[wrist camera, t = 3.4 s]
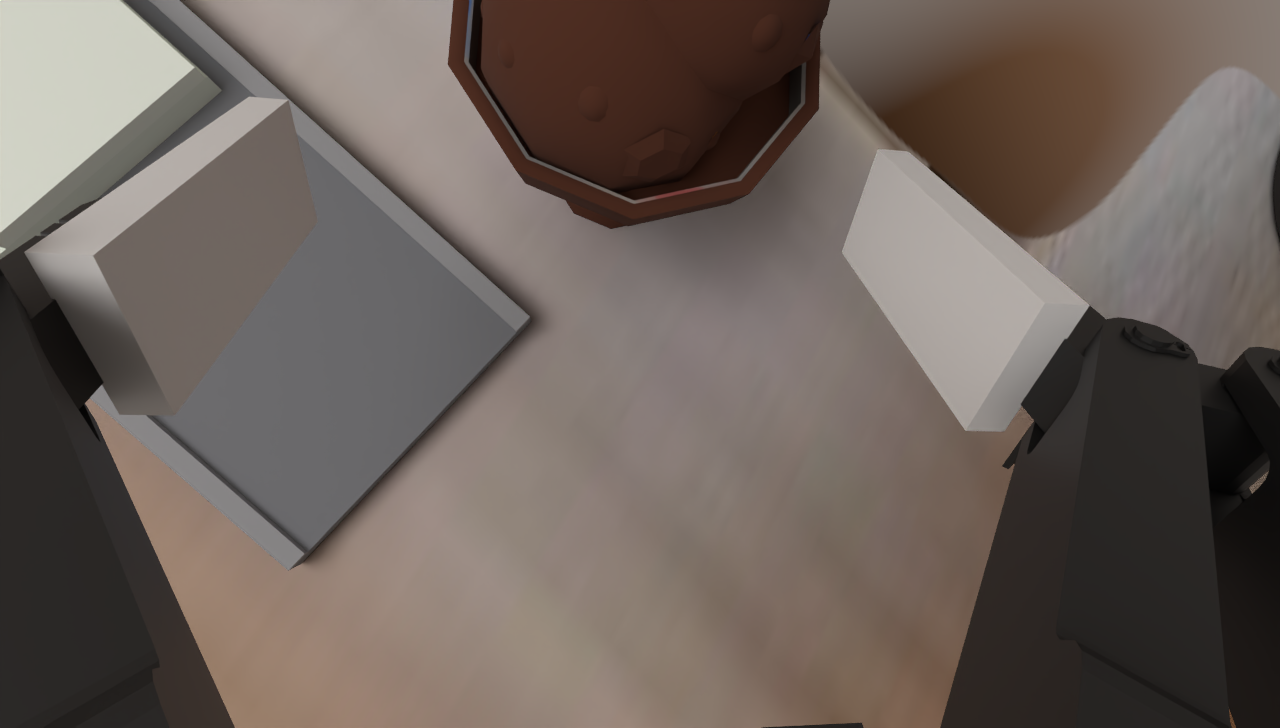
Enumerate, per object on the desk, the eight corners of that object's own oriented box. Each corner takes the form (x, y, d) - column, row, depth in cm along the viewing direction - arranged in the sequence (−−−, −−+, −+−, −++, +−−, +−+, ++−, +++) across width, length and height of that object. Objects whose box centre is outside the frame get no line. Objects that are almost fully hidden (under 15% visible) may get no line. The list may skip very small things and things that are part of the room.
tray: (531, 321, 26) (530, 316, 24) (300, 563, 24) (288, 570, 22) (92, -75, 25) (71, -98, 24) (-185, 141, 23) (-222, 127, 22)
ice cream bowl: (646, 8, 28) (744, -471, 13) (779, 214, 27) (1034, -30, 13) (440, 117, 26) (278, -289, 11) (580, 337, 26) (607, 222, 11)
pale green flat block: (222, 90, 24) (196, 65, 22) (15, 269, 22) (-29, 257, 21) (66, -50, 24) (28, -85, 22) (-155, 122, 22) (-213, 97, 21)
